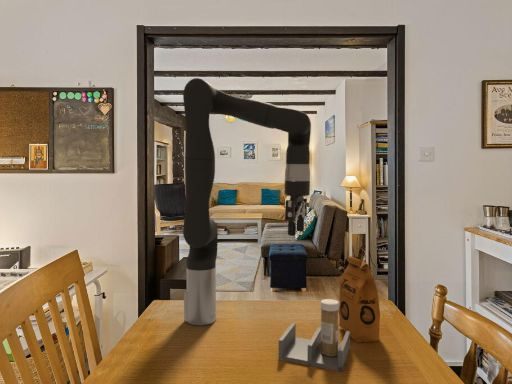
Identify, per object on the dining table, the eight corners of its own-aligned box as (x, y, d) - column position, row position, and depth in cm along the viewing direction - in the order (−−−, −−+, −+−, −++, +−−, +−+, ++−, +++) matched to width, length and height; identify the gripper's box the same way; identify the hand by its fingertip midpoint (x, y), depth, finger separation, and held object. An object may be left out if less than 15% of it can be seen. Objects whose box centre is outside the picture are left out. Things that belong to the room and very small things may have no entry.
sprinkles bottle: (342, 354, 97) (342, 302, 96) (329, 358, 94) (329, 305, 94) (329, 347, 101) (330, 297, 100) (316, 351, 98) (317, 300, 98)
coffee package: (351, 345, 104) (352, 265, 103) (335, 327, 117) (335, 255, 116) (385, 342, 106) (386, 264, 105) (365, 325, 118) (366, 254, 117)
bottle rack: (278, 359, 96) (278, 340, 96) (292, 340, 107) (292, 322, 107) (342, 371, 90) (342, 351, 90) (349, 349, 101) (350, 331, 101)
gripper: (292, 179, 122) (291, 229, 123) (277, 179, 109) (276, 235, 110) (315, 179, 119) (314, 231, 120) (302, 180, 106) (301, 238, 107)
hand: (296, 233), depth 115 cm, fingers open, 8 cm apart
